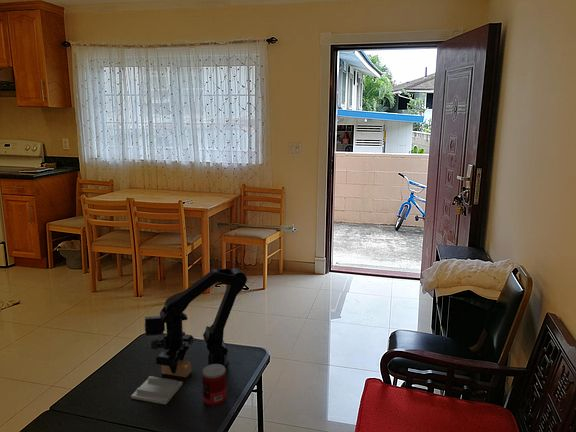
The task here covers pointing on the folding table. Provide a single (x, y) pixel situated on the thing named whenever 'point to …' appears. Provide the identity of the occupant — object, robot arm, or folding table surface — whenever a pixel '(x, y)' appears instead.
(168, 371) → the chute block
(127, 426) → the folding table surface
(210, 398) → the canned food
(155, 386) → the deck plate
